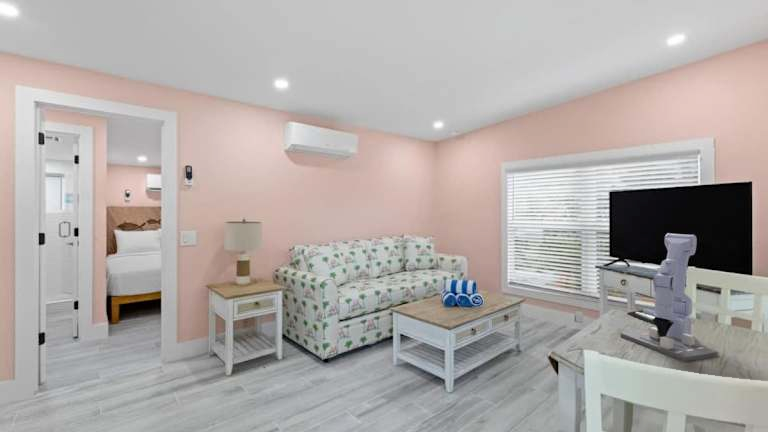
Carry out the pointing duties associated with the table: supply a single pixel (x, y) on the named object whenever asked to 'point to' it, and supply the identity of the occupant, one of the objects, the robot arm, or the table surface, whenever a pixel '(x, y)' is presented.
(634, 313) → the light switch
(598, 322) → the table surface
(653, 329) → the handle
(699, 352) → the breaker panel
